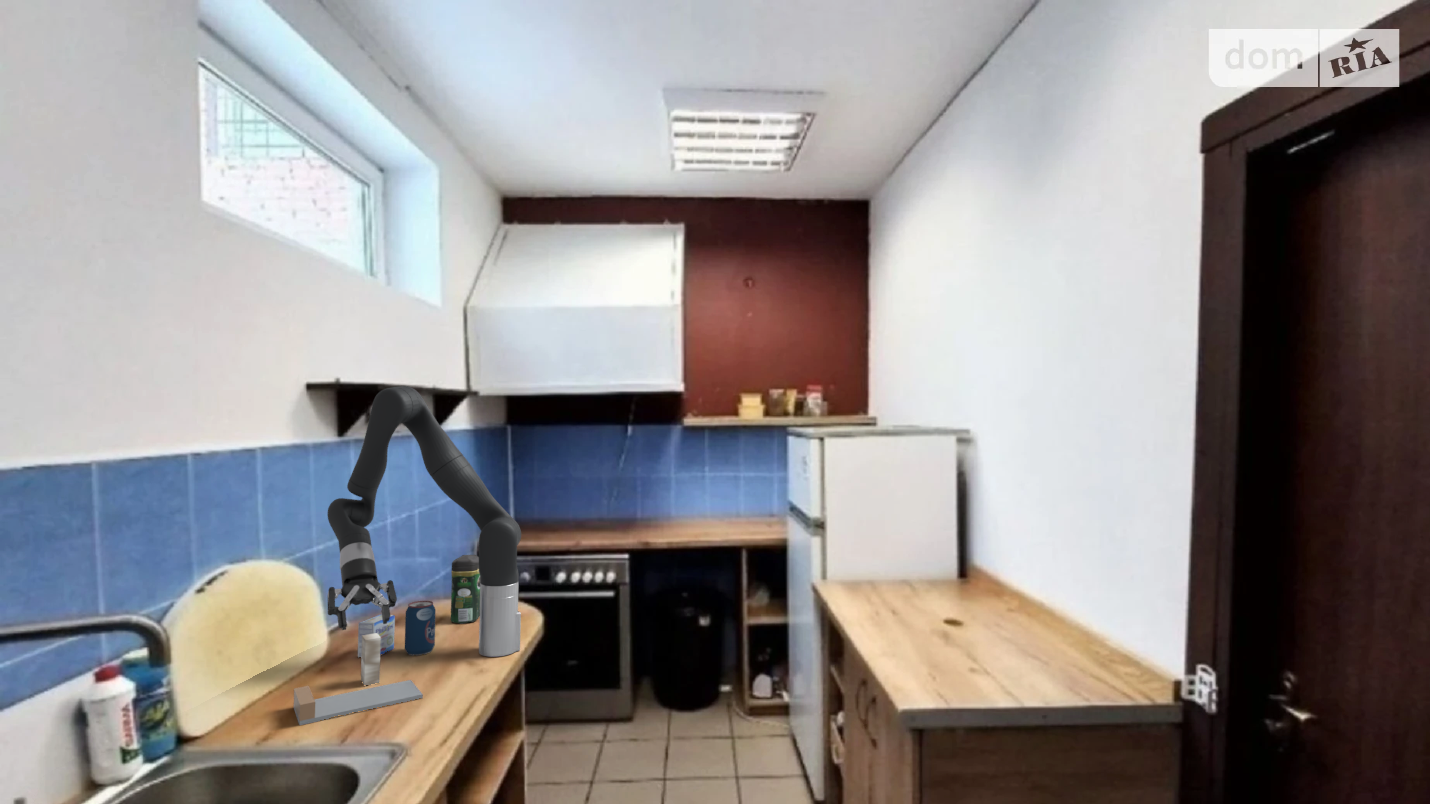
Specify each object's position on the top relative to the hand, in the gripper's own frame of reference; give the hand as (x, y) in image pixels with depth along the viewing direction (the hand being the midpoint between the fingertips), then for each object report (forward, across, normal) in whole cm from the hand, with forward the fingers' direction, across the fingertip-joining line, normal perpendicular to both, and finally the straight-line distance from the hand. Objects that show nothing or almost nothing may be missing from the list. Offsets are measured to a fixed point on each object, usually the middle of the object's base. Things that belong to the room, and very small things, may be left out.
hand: (365, 625), depth 155 cm
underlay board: (+20, -4, -5) cm, 21 cm away
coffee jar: (-14, +32, +29) cm, 45 cm away
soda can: (+2, +14, +14) cm, 20 cm away
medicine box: (-2, +5, +17) cm, 18 cm away
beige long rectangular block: (+12, 0, +3) cm, 13 cm away
